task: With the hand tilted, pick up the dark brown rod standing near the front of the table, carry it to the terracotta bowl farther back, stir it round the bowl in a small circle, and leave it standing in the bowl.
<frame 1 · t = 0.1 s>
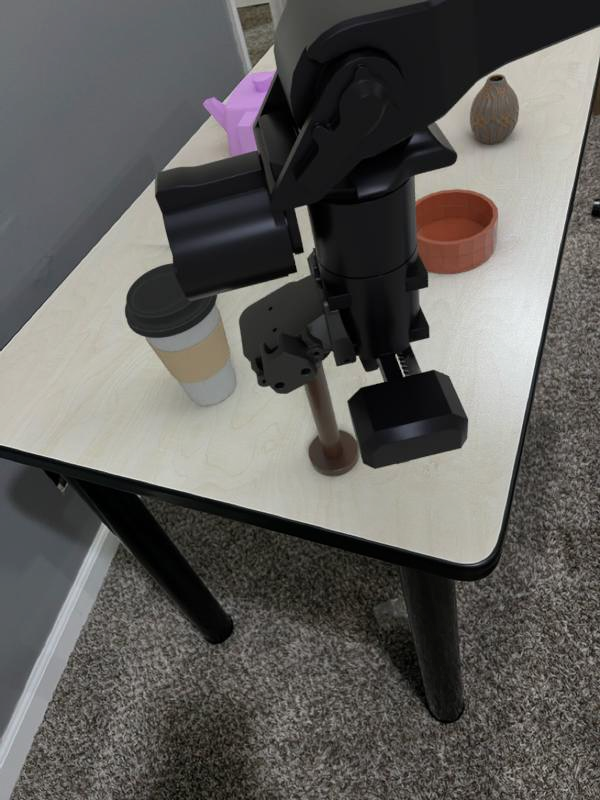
hand: (385, 412, 46), 13 cm above the table, tool pointing down, fingers open, 9 cm apart
coffee cup: (211, 387, 70), on the table
bowl: (450, 245, 77), on the table
dark brown rod: (334, 455, 60), on the table
vase: (492, 138, 91), on the table
teakettle: (277, 150, 101), on the table
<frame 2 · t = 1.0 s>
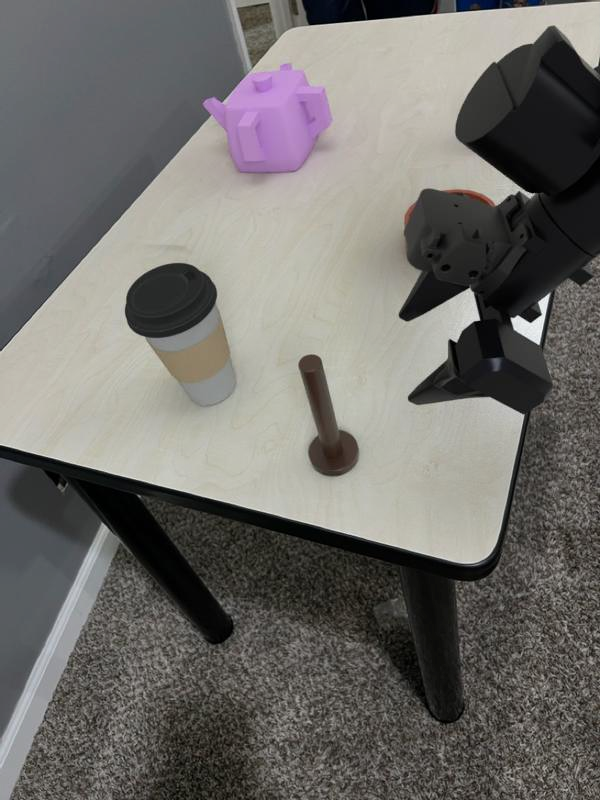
hand: (407, 357, 49), 13 cm above the table, tool tilted 45°, fingers open, 9 cm apart
nothing on the table moved.
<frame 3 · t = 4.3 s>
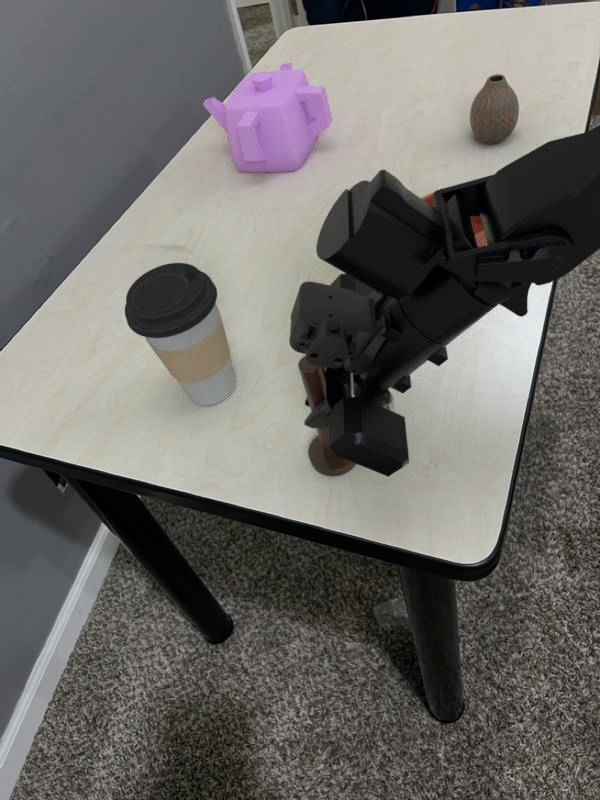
hand: (308, 415, 55), 7 cm above the table, tool tilted 45°, fingers closed on dark brown rod
dark brown rod: (334, 455, 60), on the table, touching gripper
everything else where it was.
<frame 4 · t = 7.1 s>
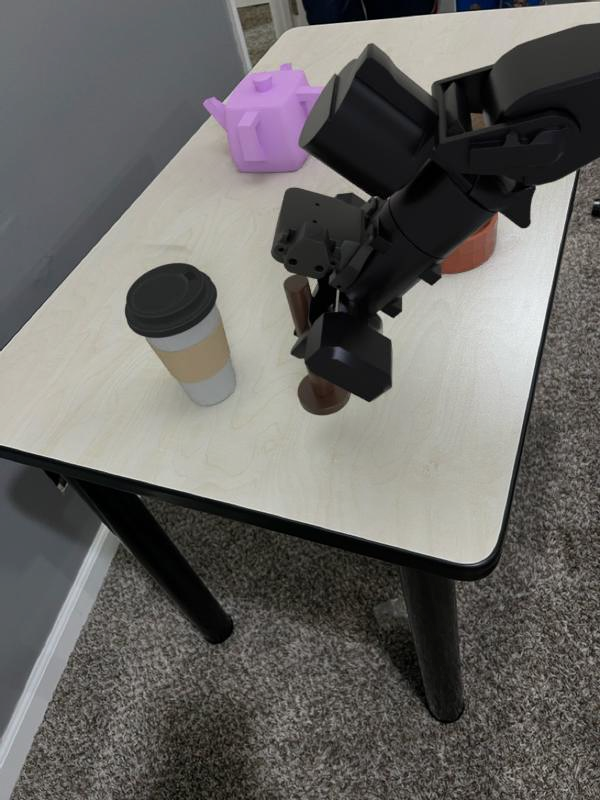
hand: (296, 345, 52), 13 cm above the table, tool tilted 45°, fingers closed on dark brown rod
dark brown rod: (324, 394, 57), point 6 cm above the table, touching gripper
everything else where it was.
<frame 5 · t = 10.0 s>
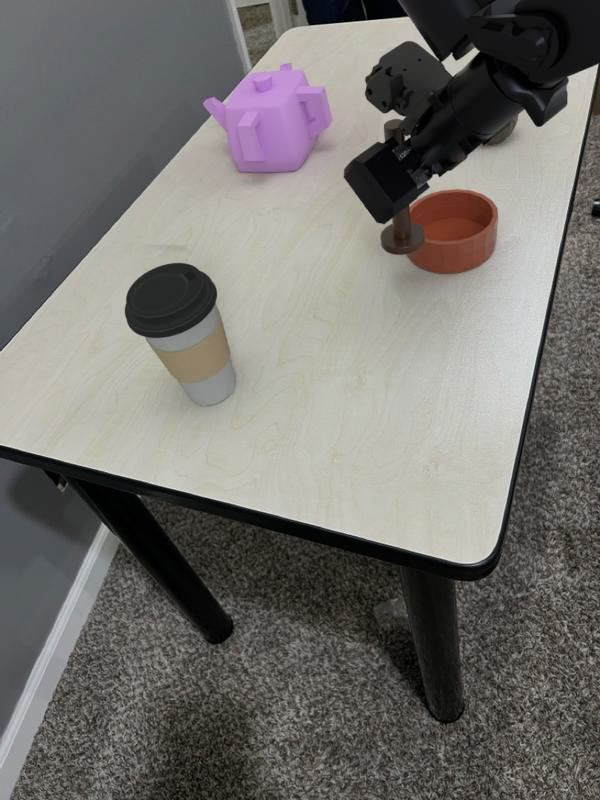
hand: (389, 184, 64), 13 cm above the table, tool tilted 45°, fingers closed on dark brown rod
dark brown rod: (402, 241, 69), point 6 cm above the table, touching gripper
everything else where it was.
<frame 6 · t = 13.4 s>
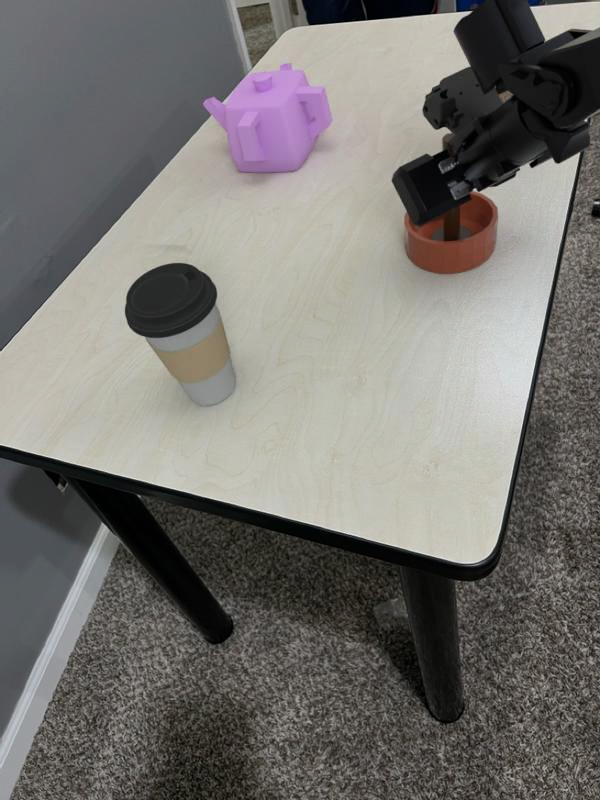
hand: (444, 189, 71), 8 cm above the table, tool tilted 45°, fingers closed on dark brown rod
dark brown rod: (451, 242, 76), point 1 cm above the table, touching gripper
everything else where it was.
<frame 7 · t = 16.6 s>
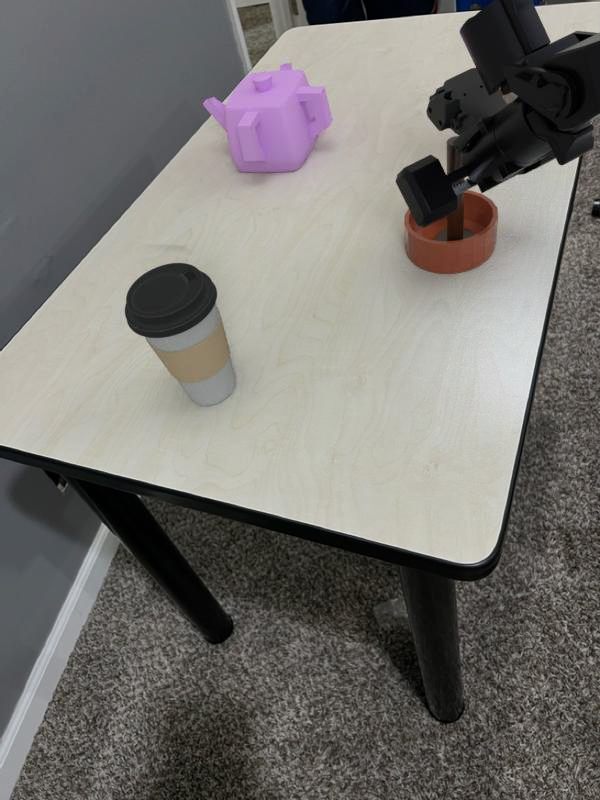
hand: (447, 190, 71), 8 cm above the table, tool tilted 45°, fingers open, 9 cm apart
dark brown rod: (454, 245, 76), point 1 cm above the table, touching bowl
everything else where it was.
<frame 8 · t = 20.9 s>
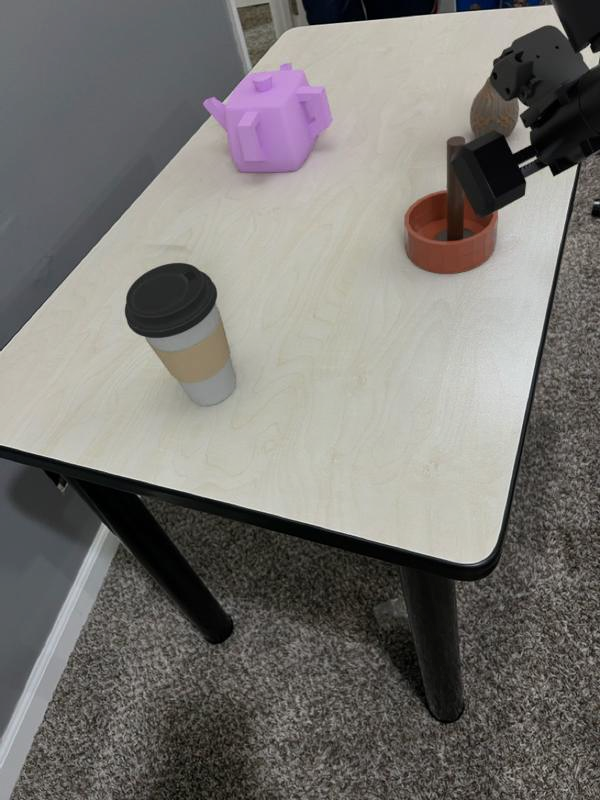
hand: (502, 175, 61), 14 cm above the table, tool tilted 45°, fingers open, 9 cm apart
nothing on the table moved.
at the end: dark brown rod 1.0 cm off-centre in the bowl, point 0.6 cm above the bowl's base; dark brown rod tilted 0°; the gripper is holding nothing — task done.
